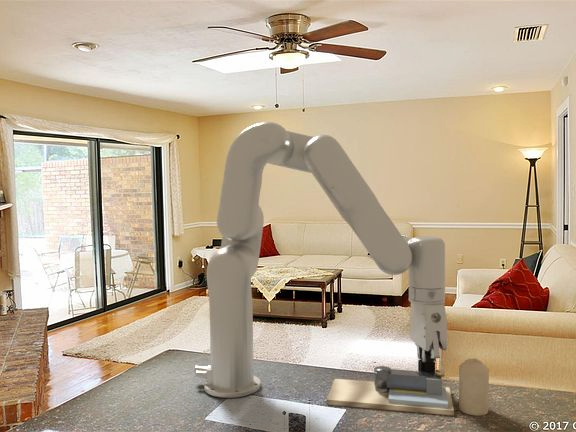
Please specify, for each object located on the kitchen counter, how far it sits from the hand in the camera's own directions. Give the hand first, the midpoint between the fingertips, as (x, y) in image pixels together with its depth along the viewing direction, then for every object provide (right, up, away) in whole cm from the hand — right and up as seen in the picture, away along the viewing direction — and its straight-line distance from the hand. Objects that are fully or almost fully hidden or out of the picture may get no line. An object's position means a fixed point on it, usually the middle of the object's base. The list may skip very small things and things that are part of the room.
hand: (426, 378), depth 111 cm
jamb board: (-9, -3, -3) cm, 10 cm away
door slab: (-3, -2, -5) cm, 6 cm away
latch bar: (-4, -1, -2) cm, 5 cm away
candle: (+7, -4, -9) cm, 12 cm away
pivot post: (-10, -3, -1) cm, 10 cm away
